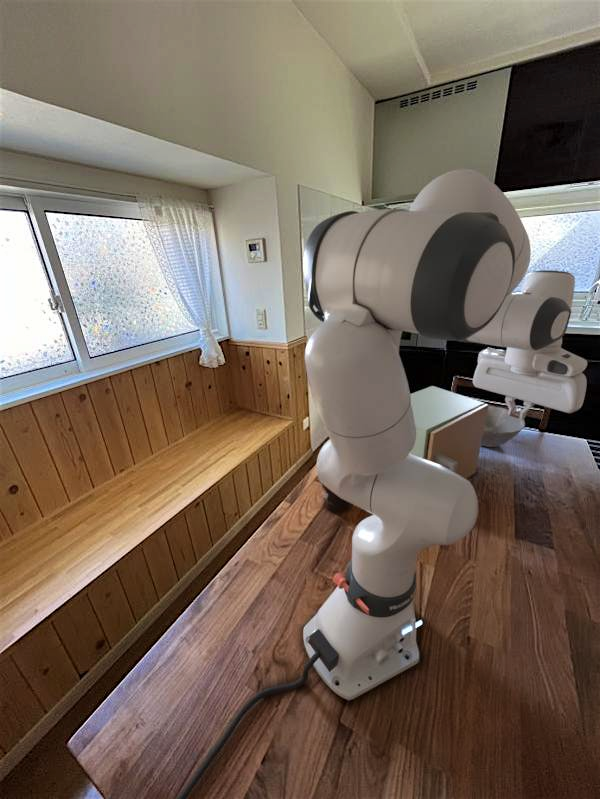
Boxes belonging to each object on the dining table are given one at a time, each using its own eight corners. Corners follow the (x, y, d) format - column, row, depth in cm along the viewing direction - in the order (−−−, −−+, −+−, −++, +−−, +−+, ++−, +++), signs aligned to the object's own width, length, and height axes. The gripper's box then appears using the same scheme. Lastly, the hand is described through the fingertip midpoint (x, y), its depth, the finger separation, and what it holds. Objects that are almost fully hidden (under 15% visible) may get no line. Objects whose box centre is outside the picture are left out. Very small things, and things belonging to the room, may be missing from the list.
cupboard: (471, 471, 109) (484, 402, 99) (417, 504, 96) (426, 429, 86) (425, 447, 123) (432, 385, 113) (372, 474, 110) (375, 406, 100)
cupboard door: (493, 481, 103) (509, 411, 94) (442, 520, 90) (455, 442, 80) (472, 471, 108) (485, 403, 99) (421, 506, 95) (430, 432, 85)
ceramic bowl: (504, 427, 133) (509, 404, 129) (530, 459, 113) (537, 434, 109) (445, 425, 137) (448, 402, 133) (460, 456, 117) (464, 431, 113)
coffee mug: (353, 514, 93) (353, 485, 89) (322, 515, 94) (321, 486, 90) (348, 487, 104) (348, 460, 100) (320, 488, 104) (319, 461, 100)
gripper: (472, 348, 74) (463, 405, 80) (585, 370, 59) (564, 439, 64) (487, 343, 77) (477, 398, 83) (598, 363, 62) (577, 429, 67)
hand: (516, 416), depth 73 cm, fingers closed
